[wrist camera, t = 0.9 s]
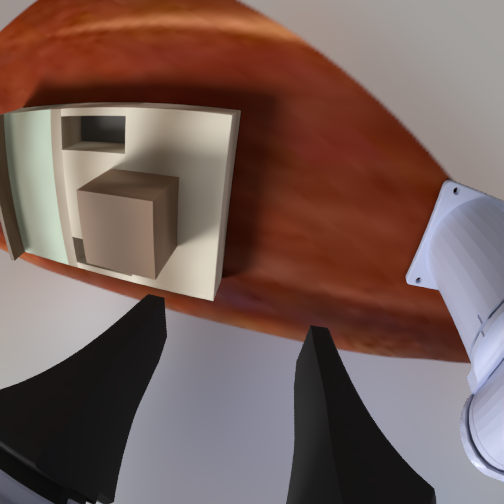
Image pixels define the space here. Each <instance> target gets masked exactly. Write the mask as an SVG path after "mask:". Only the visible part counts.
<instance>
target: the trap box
mask: <svg viewBox="0 0 504 504" xmlns="http://www.w3.org/2000/svg"><path fill="white" fill-rule="evenodd" d="M240 115H241V111H240V110H232V109H224V108H215V107H205V106H194V105H181V104H165V103H138V102H99V103H73V104H58V105H46V106H35V107H26V108H20V109H17V110H14V111H11V112H7V113H4V114H1V115H0V220H1V224H2V228H3V232H4V236H5V240H6V243H7V247H8V251H9V254H10V257H11V259H12V260H16V259H17V258H18V257H19V256H20V255H21V254H23V253H24V252H28V253H31V254H34V255H38V256H41V257H44V258H48V259H51V260H54V261H58V262H61V263H65V264H68V265H71V266H75V267H78V268H82V269H86V270H89V271H93V272H97V273H100V274H104V275H108V276H111V277H115V278H119V279H123V280H127V281H131V282H135V283H139V284H143V285H147V286H151V287H155V288H159V289H163V290H167V291H172V292H176V293H180V294H185V295H189V296H193V297H198V298H202V299H207V300H212V301H213V300H214V297H215V295H216V292H217V289H218V287H219V284H220V281H221V277H222V267H223V258H224V248H225V239H226V229H227V220H228V212H229V203H230V194H231V186H232V177H233V169H234V161H235V153H236V145H237V138H238V130H239V122H240ZM109 169H118V170H127V171H135V172H144V173H152V174H159V175H167V176H174V177H179V192H178V226H177V248H176V249H175V251H174V252H173V254H172V255H171V257H170V258H169V260H168V261H167V263H166V264H165V266H164V267H163V269H162V271H161V272H160V274H159V275H158V277H157V278H156V280H153V279H149V278H145V277H141V276H137V275H132V274H128V273H124V272H120V271H116V270H112V269H109V268H105V267H101V266H97V265H93V264H89V263H87V261H86V256H85V250H84V244H83V238H82V232H81V225H80V217H79V210H78V201H77V192H76V190H77V189H79V188H80V187H82V186H83V185H85V184H87V183H88V182H90V181H91V180H93V179H94V178H96V177H98V176H99V175H101V174H103V173H104V172H106V171H108V170H109Z"/></svg>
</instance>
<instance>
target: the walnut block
mask: <svg viewBox="0 0 504 504" xmlns="http://www.w3.org/2000/svg"><path fill="white" fill-rule="evenodd" d="M76 192H77V201H78V210H79V217H80V225H81V232H82V238H83V244H84V250H85V256H86V261H87V263H89V264H93V265H97V266H101V267H105V268H109V269H112V270H116V271H120V272H124V273H128V274H132V275H137V276H141V277H145V278H149V279H153V280H156V278H157V277H158V275H159V274H160V272H161V271H162V269H163V267H164V266H165V264H166V263H167V261H168V260H169V258H170V257H171V255H172V254H173V252H174V251H175V249H176V248H177V226H178V192H179V177H174V176H167V175H159V174H152V173H144V172H135V171H127V170H118V169H109V170H108V171H106V172H104V173H103V174H101V175H99V176H98V177H96V178H94V179H93V180H91V181H90V182H88V183H87V184H85V185H83V186H82V187H80V188H79V189H77V190H76Z"/></svg>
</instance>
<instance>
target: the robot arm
mask: <svg viewBox="0 0 504 504" xmlns="http://www.w3.org/2000/svg"><path fill="white" fill-rule="evenodd" d="M456 187H457V191H456V192H455V193H453V190H454V188H456ZM417 278H420V279H419V280H416V279H417ZM406 281H407V283H408V284H410V285H415V286H421V287H426V288H431V289H436V290H439V291H440V293H441V295H442V297H443V299H444V301H445V303H446V305H447V307H448V309H449V312H450V314H451V316H452V318H453V320H454V323H455V325H456V327H457V329H458V332H459V334H460V336H461V339H462V341H463V343H464V346H465V348H466V351H467V353H468V356H469V358H470V361H471V365H472V368H471V371H470V373H469V374H468V376H467V380H468V382H469V386H470V389H471V392H472V394H471V395H470V396H469V398H468V399H467V401H466V402H465V404H464V406H463V409H462V412H461V417H460V434H461V440H462V443H463V446H464V449H465V451H466V454H467V455H468V457H469V459H470V461H471V462H472V463H473V464H474V465H475V467H476V468H478V469H479V470H480V471H481V472H482V473H484V474H486V475H487V476H490V477H492V478H495V479H498V480H501V481H503V482H504V201H502V200H500V199H497V198H495V197H492V196H490V195H488V194H486V193H483V192H481V191H478V190H475V189H473V188H471V187H468V186H465V185H462V184H460V183H457V182H455V181H452V180H446V181H445V182H444V183H443V185H442V188H441V191H440V194H439V196H438V199H437V202H436V205H435V207H434V210H433V213H432V215H431V218H430V221H429V223H428V226H427V228H426V231H425V233H424V236H423V238H422V241H421V243H420V245H419V248H418V250H417V252H416V255H415V257H414V259H413V261H412V264H411V266H410V268H409V270H408V272H407V275H406ZM165 318H166V317H165V301H164V298H163V297H159V296H154V295H150V294H148V295H147V296H145V297H144V298H143V299H142V300H141V301H140V302H139V303H137V304H136V305H135V306H134V307H133V308H132V309H131V310H130V311H129V312H127V313H126V314H125V315H124V316H123V317H122V318H120V319H119V320H118V321H117V322H116V323H114V325H112V326H111V327H110V328H109V329H107V330H106V331H105V332H104V333H102V334H101V335H100V336H98V337H97V338H96V339H94V340H93V341H92V342H90V343H89V344H88V345H86V346H85V347H84V348H83V349H81V350H79V351H78V352H77V353H75V354H73V355H72V356H70V357H69V358H67V359H66V360H64V361H62V362H60V363H59V364H57V365H55V366H53V367H52V368H50V369H48V370H46V371H44V372H42V373H40V374H38V375H36V376H34V377H32V378H29V379H27V380H25V381H23V382H20V383H18V384H15V385H12V386H10V387H6V388H3V389H1V390H0V504H86V502H89V503H91V504H96V501H98V502H100V503H102V504H110V503H112V502H114V498H115V491H116V485H117V480H118V475H119V470H120V466H121V462H122V458H123V454H124V450H125V446H126V442H127V439H128V435H129V432H130V429H131V425H132V422H133V419H134V416H135V413H136V411H137V408H138V406H139V404H140V401H141V399H142V397H143V395H144V393H145V390H146V388H147V386H148V384H149V382H150V380H151V377H152V375H153V373H154V370H155V369H156V366H157V364H158V362H159V360H160V356H161V354H162V351H163V347H164V344H165V341H166V338H167V330H166V319H165ZM294 425H295V427H294V428H295V429H294V430H295V441H294V455H293V463H292V471H291V478H290V484H289V491H288V496H287V502H286V504H436V496H435V491H434V488H433V487H432V486H431V485H430V484H428V483H427V482H426V481H425V480H424V479H423V478H422V477H421V476H420V475H418V474H417V473H416V472H415V471H414V470H413V469H412V468H411V467H410V466H409V465H408V463H407V462H406V461H405V460H404V459H403V458H402V457H401V456H400V454H399V453H398V452H397V451H396V450H395V448H394V447H393V446H392V445H391V443H390V442H389V441H388V440H387V439H386V437H385V436H384V434H383V433H382V432H381V430H380V429H379V428H378V426H377V425H376V423H375V421H374V420H373V419H372V417H371V416H370V414H369V412H368V411H367V409H366V407H365V406H364V404H363V402H362V400H361V399H360V397H359V395H358V393H357V391H356V389H355V387H354V385H353V384H352V382H351V380H350V377H349V375H348V373H347V371H346V369H345V367H344V365H343V363H342V360H341V358H340V356H339V354H338V351H337V349H336V346H335V344H334V342H333V339H332V337H331V334H330V331H329V330H328V328H324V327H317V326H311V325H310V328H309V331H308V333H307V336H306V339H305V341H304V344H303V347H302V349H301V352H300V354H299V357H298V359H297V362H296V372H295V382H294Z"/></svg>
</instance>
